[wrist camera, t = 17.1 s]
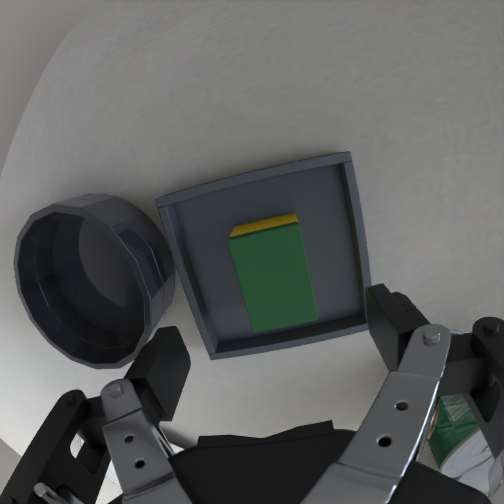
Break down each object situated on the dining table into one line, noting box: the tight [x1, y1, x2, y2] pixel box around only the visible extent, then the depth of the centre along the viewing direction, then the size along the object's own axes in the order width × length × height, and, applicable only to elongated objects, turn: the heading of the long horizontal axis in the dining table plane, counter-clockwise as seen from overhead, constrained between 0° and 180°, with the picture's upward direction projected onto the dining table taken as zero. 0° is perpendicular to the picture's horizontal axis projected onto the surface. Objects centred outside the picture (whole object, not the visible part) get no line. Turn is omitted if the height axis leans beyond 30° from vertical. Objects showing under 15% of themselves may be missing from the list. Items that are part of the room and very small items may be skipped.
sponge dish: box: [155, 151, 371, 360], centre depth 20 cm, size 12×12×2 cm
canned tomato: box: [427, 331, 493, 478], centre depth 17 cm, size 8×8×11 cm
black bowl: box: [14, 194, 175, 369], centre depth 19 cm, size 12×12×5 cm
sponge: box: [227, 213, 318, 333], centre depth 18 cm, size 6×4×4 cm, turn 14°
